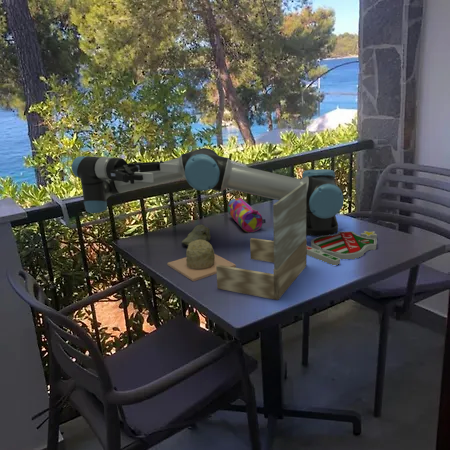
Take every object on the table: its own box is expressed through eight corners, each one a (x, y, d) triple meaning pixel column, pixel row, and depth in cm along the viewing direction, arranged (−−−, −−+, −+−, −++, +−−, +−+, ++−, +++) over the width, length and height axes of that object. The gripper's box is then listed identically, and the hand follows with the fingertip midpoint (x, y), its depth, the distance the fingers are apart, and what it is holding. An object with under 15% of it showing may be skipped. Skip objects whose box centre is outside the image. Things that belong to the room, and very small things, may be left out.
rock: (182, 252, 168) (209, 247, 167) (178, 235, 166) (205, 230, 165) (186, 241, 178) (212, 237, 177) (182, 226, 176) (208, 221, 175)
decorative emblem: (294, 244, 161) (354, 225, 177) (294, 250, 162) (354, 230, 178) (335, 261, 147) (396, 238, 162) (335, 268, 147) (396, 244, 163)
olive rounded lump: (214, 278, 150) (226, 248, 151) (189, 268, 144) (201, 238, 145) (199, 271, 157) (211, 243, 158) (175, 261, 152) (187, 233, 153)
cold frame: (217, 288, 137) (212, 198, 128) (252, 257, 157) (249, 178, 148) (278, 300, 128) (276, 205, 120) (306, 266, 149) (307, 182, 140)
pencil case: (266, 231, 181) (266, 209, 178) (243, 235, 178) (243, 212, 175) (247, 215, 201) (246, 195, 198) (226, 218, 198) (225, 198, 195)
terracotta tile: (208, 252, 163) (208, 250, 163) (235, 267, 150) (235, 264, 150) (167, 265, 154) (167, 262, 154) (193, 281, 142) (192, 279, 142)
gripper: (136, 172, 169) (187, 175, 159) (87, 189, 148) (142, 194, 138) (134, 151, 166) (185, 153, 157) (84, 165, 145) (139, 169, 136)
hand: (165, 173), depth 148 cm, fingers open, 13 cm apart
